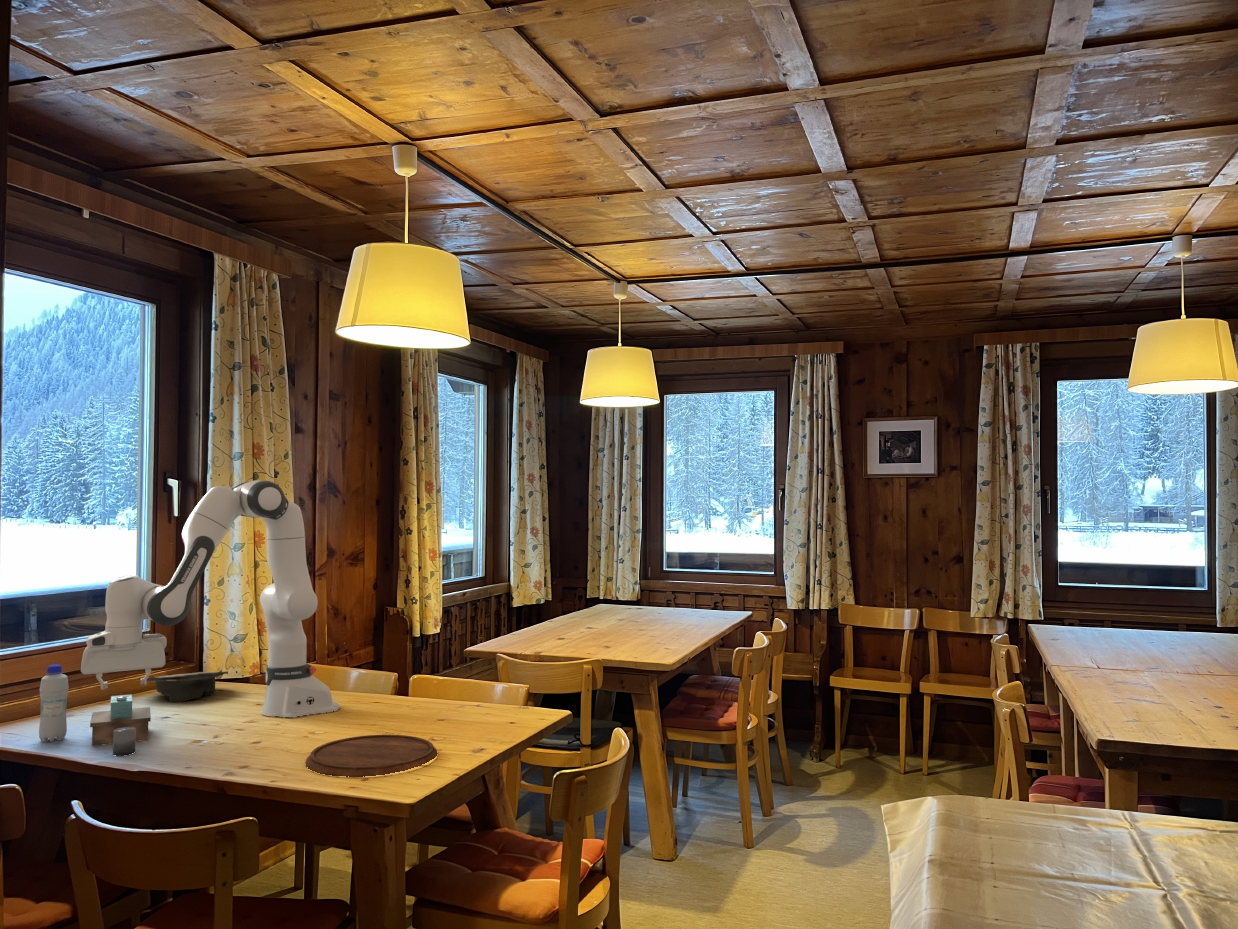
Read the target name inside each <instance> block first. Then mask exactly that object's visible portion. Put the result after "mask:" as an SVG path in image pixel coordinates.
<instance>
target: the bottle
mask: <svg viewBox="0 0 1238 929" xmlns="http://www.w3.org/2000/svg"><path fill="white" fill-rule="evenodd" d="M62 671H63V667H62V665H61V664H51V665H48V666H47V668H46V675H45V676H43V677H41V680H40V685H39V696H40V718H39V728H38V737H39V739H40V741H42V742H43V743H47V742H48V740H49V741H50V743H53V742H54V741H55V738H56V741H57V740H60V741H61V740H64V739H65V738H66V736H67V729H68V727H67V725H68V724H67V708H68V707H67V701H68V700H67V699H68V694H69V688H70V687H69V679H68V675H66V674H63V673H62ZM46 741H47V742H46Z"/></svg>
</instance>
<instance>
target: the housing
mask: <svg viewBox="0 0 1238 929" xmlns="http://www.w3.org/2000/svg"><path fill="white" fill-rule="evenodd" d="M132 709H133V694H131V693H130V694H120V695H111V696H110V711H111V718H110V720H115V719H125V718H132Z"/></svg>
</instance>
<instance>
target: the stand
mask: <svg viewBox="0 0 1238 929" xmlns="http://www.w3.org/2000/svg"><path fill="white" fill-rule="evenodd" d="M151 715H152V714H151V707H150V706H145V707H134V708H133V707H132V718H125V719H115V720H110V718H111V710H103V711H92V713H91V718H90V723H89V728H91V729H92V731H91V736H92V737H91V746H92V747H95V745H97V746H104V745H103V744H106V745H113V731H114V730H115V729H118V728H124V727H134V728H136V741H135V742H140V740H144V741H149V722H151V719H152V718H151V717H152V716H151Z"/></svg>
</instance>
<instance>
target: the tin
mask: <svg viewBox="0 0 1238 929" xmlns="http://www.w3.org/2000/svg"><path fill="white" fill-rule="evenodd" d="M136 742H137V741H136V728H134V727H124V728H118V729H115V730H114V731H113V744H112V756H113V755H116V756H115V757H125V756H124V755H127V756H130V755H129V754H132V753H134V752H135V753H136ZM135 753H134V754H135ZM132 755H133V754H132Z"/></svg>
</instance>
